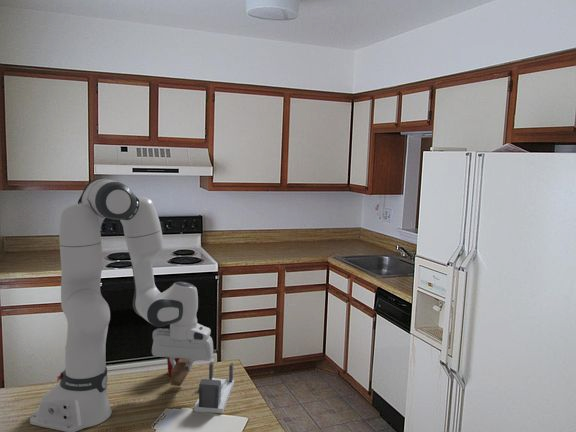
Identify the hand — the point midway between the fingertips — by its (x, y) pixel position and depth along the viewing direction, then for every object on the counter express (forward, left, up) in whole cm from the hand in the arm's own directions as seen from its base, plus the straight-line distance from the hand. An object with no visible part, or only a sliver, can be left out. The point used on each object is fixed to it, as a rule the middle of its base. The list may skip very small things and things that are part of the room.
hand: (181, 370), depth 165 cm
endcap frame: (+12, -3, -7) cm, 14 cm away
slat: (0, 0, -2) cm, 2 cm away
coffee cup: (-5, +12, -7) cm, 15 cm away
